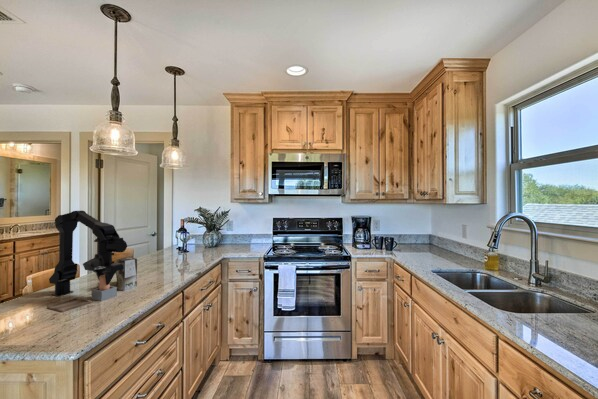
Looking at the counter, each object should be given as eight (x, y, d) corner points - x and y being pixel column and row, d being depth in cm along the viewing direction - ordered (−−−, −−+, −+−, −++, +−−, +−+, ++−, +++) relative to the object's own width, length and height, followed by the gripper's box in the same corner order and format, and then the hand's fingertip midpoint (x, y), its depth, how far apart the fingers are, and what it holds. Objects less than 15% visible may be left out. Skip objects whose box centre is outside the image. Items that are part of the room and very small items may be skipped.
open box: (91, 300, 126) (91, 289, 126) (107, 295, 133) (107, 285, 133) (101, 302, 124) (101, 291, 124) (116, 297, 130) (116, 287, 130)
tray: (46, 309, 115) (46, 306, 115) (76, 300, 126) (76, 297, 126) (62, 313, 111) (62, 310, 111) (92, 304, 122) (92, 300, 122)
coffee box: (137, 288, 143) (137, 258, 143) (124, 292, 137) (124, 260, 137) (128, 285, 148) (129, 256, 148) (115, 289, 142) (116, 258, 142)
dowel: (97, 297, 127) (97, 276, 127) (106, 294, 131) (106, 274, 131) (102, 298, 125) (103, 277, 126) (111, 295, 129) (111, 274, 129)
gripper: (73, 253, 124) (73, 286, 124) (99, 256, 117) (99, 291, 117) (98, 249, 134) (98, 280, 134) (124, 251, 128) (124, 284, 128)
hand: (104, 284), depth 128 cm, fingers closed on dowel, 4 cm apart
